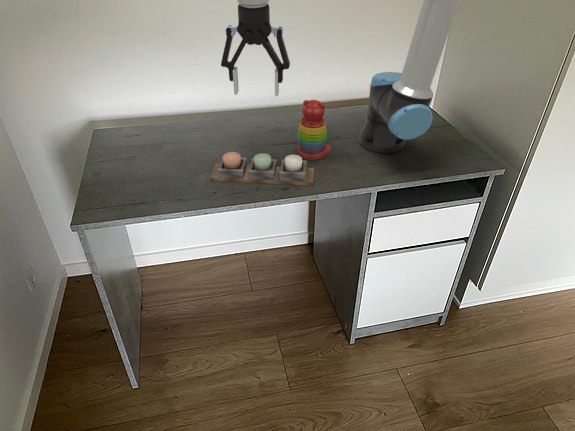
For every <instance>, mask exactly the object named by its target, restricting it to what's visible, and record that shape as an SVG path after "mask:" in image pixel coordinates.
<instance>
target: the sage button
mask: <svg viewBox="0 0 575 431" xmlns="http://www.w3.org/2000/svg"><path fill="white" fill-rule="evenodd" d="M253 158H254V168H255V169H256V170H259V171H267V170H269V169H270V168H271V159H272V156H271V155H270V154H268V153H263V152H262V153H257V154H255V155H254V156H253Z"/></svg>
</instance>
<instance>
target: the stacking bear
mask: <svg viewBox="0 0 575 431" xmlns="http://www.w3.org/2000/svg"><path fill="white" fill-rule="evenodd" d="M302 104H303V107H302V114H303V116H302V118H301V119H300V121H299V123H298V124H299V125H298V128H297V131H296V133H297V135H296V139H297V147H296V153H297V155H298V156H300V157H301V158H302V159H304V160H306V161H307V160H308V161H315V160H320V159H323V158H325V157H327V156H328V155H329V154H330V153H331V152H332V146H330V145H329V144H328V143H327V139H328V129H327V124H326V120H325V119H324V115H325V110H326V109H325V103H323V102H321V101H320V100H317V99H310V100H307V99H305V100H303V101H302ZM326 143H327V144H326Z"/></svg>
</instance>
